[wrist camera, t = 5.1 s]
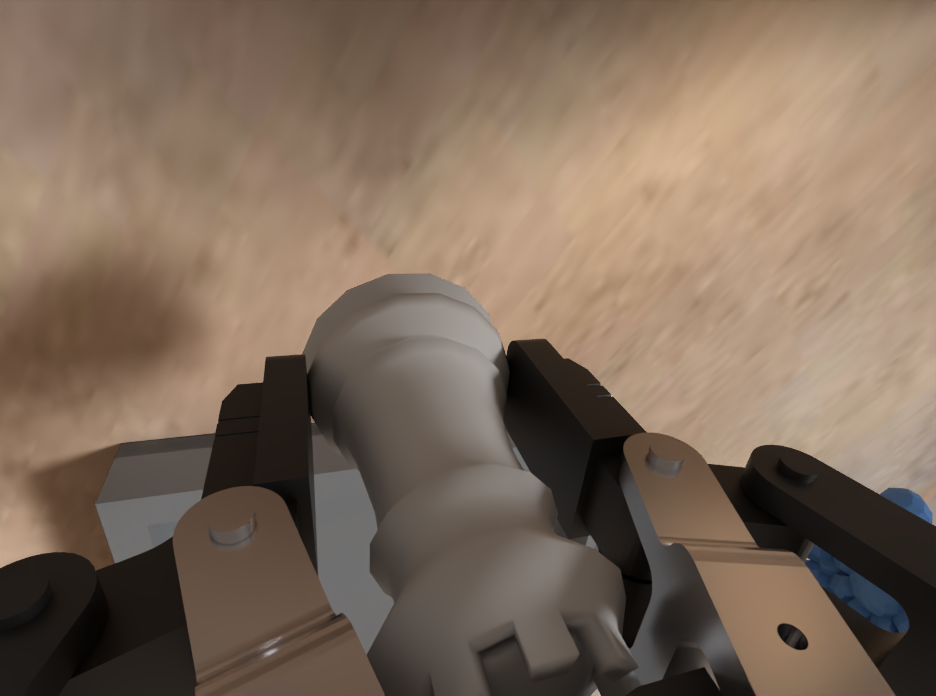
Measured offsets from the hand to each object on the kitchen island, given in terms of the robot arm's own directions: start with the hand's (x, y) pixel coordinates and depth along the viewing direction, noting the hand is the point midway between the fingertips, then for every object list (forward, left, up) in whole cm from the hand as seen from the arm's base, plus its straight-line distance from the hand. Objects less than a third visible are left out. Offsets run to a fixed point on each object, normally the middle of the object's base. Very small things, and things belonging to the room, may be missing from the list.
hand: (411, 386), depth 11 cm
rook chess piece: (0, 0, -2) cm, 2 cm away
